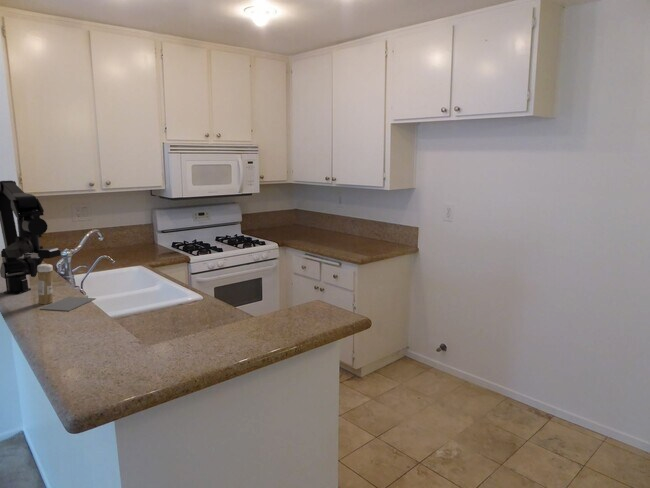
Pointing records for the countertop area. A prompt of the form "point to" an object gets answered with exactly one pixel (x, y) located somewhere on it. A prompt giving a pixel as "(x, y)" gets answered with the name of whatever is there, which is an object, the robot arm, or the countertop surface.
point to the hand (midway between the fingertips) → (33, 276)
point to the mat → (67, 304)
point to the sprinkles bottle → (45, 283)
